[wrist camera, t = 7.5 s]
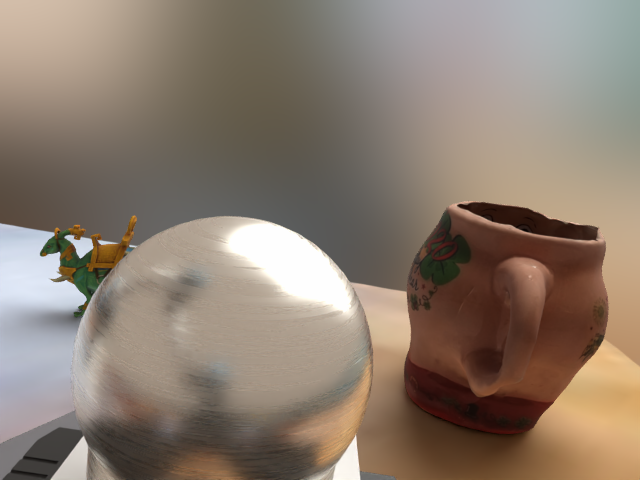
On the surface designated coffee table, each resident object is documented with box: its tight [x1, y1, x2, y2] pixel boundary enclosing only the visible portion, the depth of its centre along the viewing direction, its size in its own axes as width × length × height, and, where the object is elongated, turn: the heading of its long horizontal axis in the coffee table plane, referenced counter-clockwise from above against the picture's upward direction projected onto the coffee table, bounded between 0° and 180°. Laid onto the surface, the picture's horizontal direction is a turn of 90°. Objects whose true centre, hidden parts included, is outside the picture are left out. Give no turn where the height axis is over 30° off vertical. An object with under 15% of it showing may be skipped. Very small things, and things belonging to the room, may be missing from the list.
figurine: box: [40, 216, 137, 317], centre depth 40 cm, size 3×12×8 cm, turn 99°
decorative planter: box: [404, 201, 608, 434], centre depth 34 cm, size 20×12×14 cm, turn 171°
